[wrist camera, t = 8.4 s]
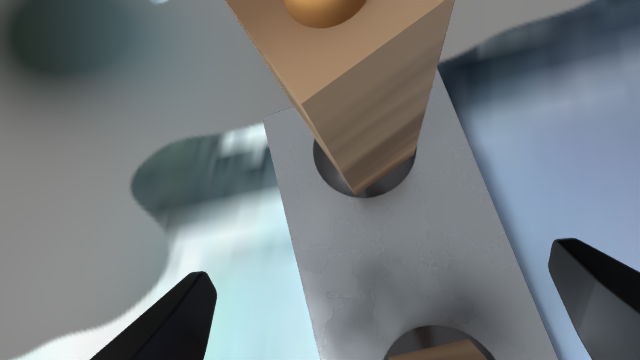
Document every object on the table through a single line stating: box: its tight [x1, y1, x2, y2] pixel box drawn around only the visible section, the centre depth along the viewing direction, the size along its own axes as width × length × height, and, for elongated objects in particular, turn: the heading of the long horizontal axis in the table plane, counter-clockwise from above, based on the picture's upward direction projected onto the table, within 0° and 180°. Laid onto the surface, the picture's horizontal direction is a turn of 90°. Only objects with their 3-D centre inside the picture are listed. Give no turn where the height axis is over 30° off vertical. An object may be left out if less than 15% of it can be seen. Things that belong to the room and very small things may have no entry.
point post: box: [225, 0, 455, 195], centre depth 12 cm, size 4×4×14 cm
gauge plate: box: [262, 69, 558, 360], centre depth 18 cm, size 21×11×1 cm, turn 15°
